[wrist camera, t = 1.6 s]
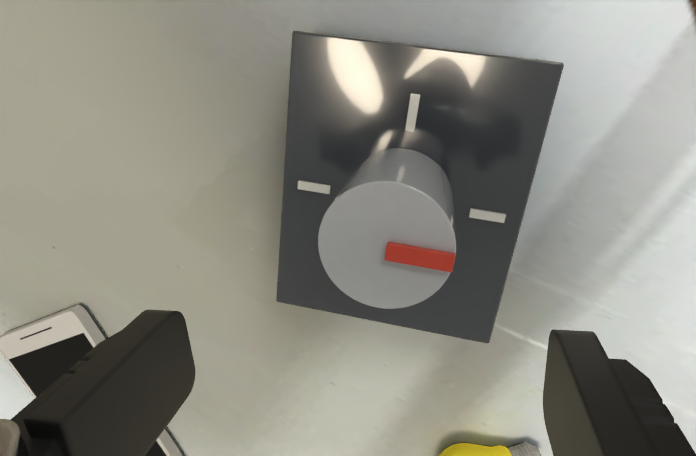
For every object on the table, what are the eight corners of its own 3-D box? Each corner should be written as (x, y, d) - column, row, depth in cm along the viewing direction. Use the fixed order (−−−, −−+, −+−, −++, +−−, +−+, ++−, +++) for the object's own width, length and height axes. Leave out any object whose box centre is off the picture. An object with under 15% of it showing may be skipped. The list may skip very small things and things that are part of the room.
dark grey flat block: (311, 32, 21) (290, 30, 18) (547, 60, 19) (566, 63, 16) (293, 274, 25) (274, 303, 22) (484, 310, 24) (489, 346, 21)
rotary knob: (341, 239, 21) (309, 300, 16) (352, 140, 19) (321, 173, 14) (442, 258, 20) (442, 325, 15) (463, 156, 18) (470, 196, 14)
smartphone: (128, 505, 35) (120, 517, 34) (2, 333, 31) (-10, 341, 30) (206, 489, 32) (200, 502, 32) (82, 302, 29) (71, 310, 28)
